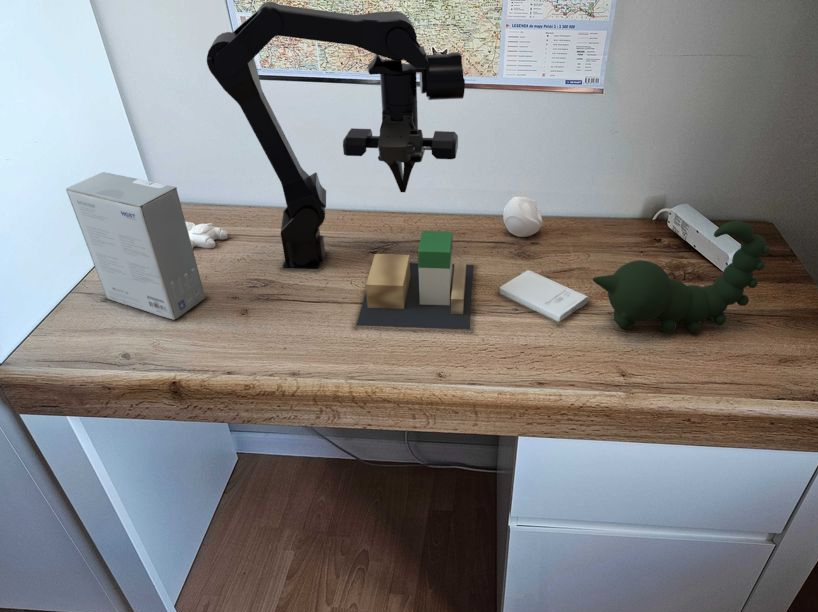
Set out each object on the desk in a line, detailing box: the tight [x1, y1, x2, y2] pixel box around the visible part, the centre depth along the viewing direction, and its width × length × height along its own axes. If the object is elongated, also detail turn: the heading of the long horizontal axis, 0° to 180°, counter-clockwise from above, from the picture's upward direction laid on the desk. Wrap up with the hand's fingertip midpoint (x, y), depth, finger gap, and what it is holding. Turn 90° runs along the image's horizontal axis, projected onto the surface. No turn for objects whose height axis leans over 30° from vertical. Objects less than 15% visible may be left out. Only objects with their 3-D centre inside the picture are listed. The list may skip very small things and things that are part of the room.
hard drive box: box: [65, 171, 206, 321], centre depth 106 cm, size 16×8×20 cm, turn 65°
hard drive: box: [498, 269, 589, 323], centre depth 112 cm, size 2×8×12 cm
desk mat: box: [355, 262, 474, 331], centre depth 113 cm, size 18×20×1 cm
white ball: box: [502, 195, 544, 238], centre depth 128 cm, size 8×8×8 cm
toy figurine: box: [592, 220, 771, 334], centre depth 101 cm, size 9×19×25 cm
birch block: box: [365, 253, 411, 309], centre depth 112 cm, size 6×10×4 cm, turn 177°
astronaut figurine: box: [185, 221, 229, 250], centre depth 128 cm, size 9×12×3 cm
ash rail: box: [451, 260, 467, 315], centre depth 112 cm, size 2×12×3 cm, turn 177°
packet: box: [417, 230, 454, 305], centre depth 110 cm, size 9×7×11 cm
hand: (403, 191), depth 117 cm, fingers closed
